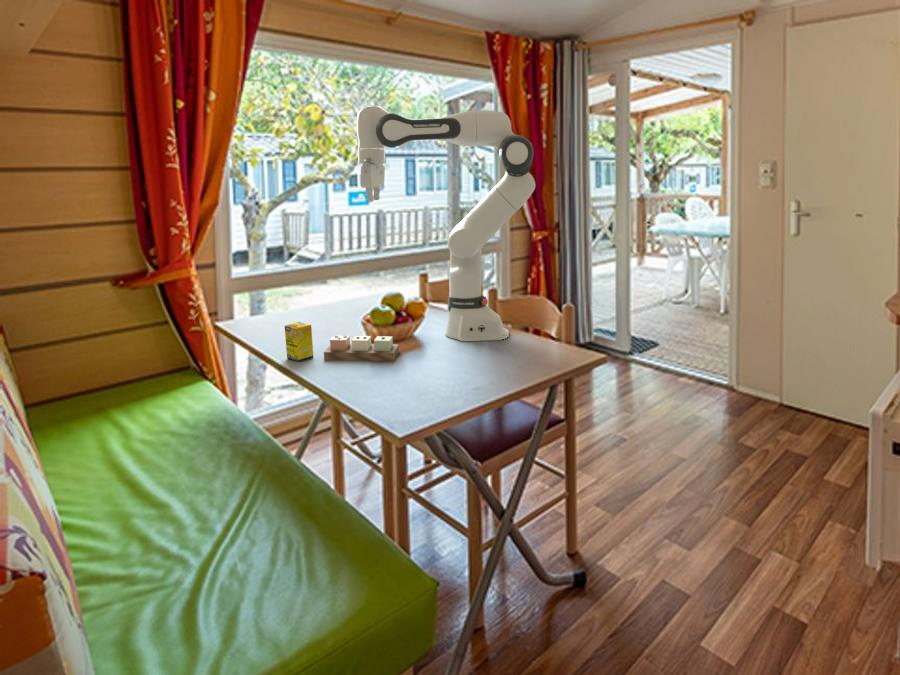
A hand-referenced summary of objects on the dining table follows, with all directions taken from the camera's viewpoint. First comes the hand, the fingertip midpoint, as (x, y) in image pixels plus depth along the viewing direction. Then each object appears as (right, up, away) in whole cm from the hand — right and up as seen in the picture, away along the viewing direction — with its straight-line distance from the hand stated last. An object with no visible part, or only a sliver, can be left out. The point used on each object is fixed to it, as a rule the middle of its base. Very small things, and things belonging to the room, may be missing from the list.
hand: (373, 200), depth 211 cm
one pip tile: (+5, -50, -13) cm, 52 cm away
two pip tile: (-2, -50, -12) cm, 52 cm away
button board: (-2, -52, -12) cm, 53 cm away
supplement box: (-21, -53, -14) cm, 59 cm away
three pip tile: (-9, -50, -12) cm, 52 cm away
